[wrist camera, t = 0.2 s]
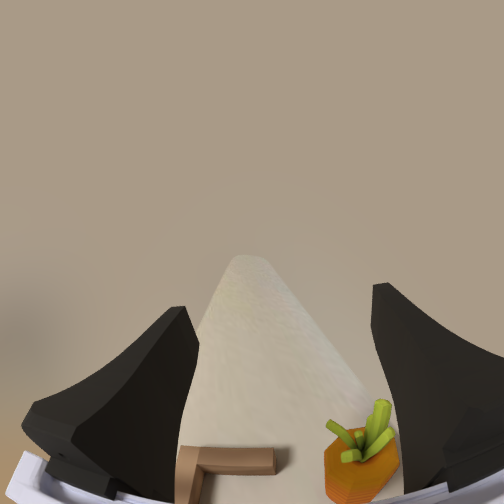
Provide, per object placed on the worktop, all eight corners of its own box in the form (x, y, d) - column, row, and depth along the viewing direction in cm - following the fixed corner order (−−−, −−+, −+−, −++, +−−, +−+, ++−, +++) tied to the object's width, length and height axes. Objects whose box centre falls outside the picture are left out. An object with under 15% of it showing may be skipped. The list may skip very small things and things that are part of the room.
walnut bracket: (271, 557, 14) (267, 555, 13) (169, 545, 16) (157, 541, 15) (276, 458, 24) (273, 447, 23) (189, 455, 26) (180, 445, 24)
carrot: (333, 532, 16) (351, 482, 9) (311, 491, 20) (305, 408, 14) (385, 505, 17) (438, 428, 10) (360, 468, 21) (385, 370, 15)
